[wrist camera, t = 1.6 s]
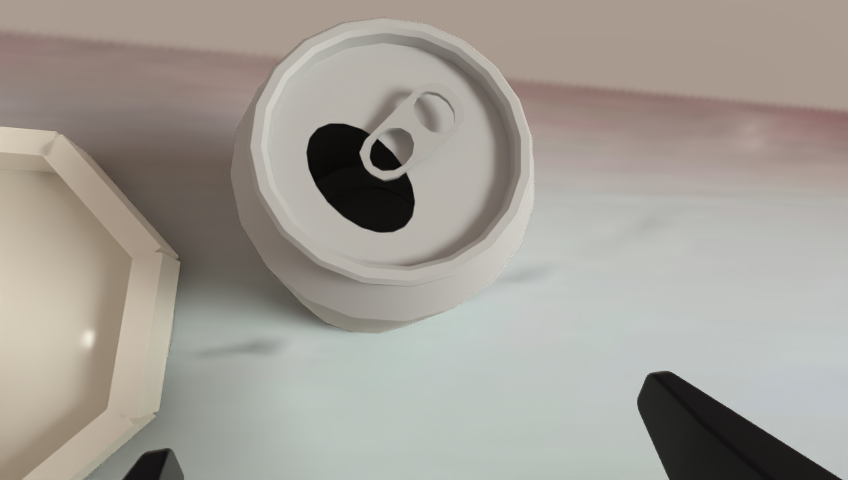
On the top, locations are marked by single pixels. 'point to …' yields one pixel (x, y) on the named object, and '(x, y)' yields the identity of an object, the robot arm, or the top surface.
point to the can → (384, 173)
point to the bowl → (75, 310)
